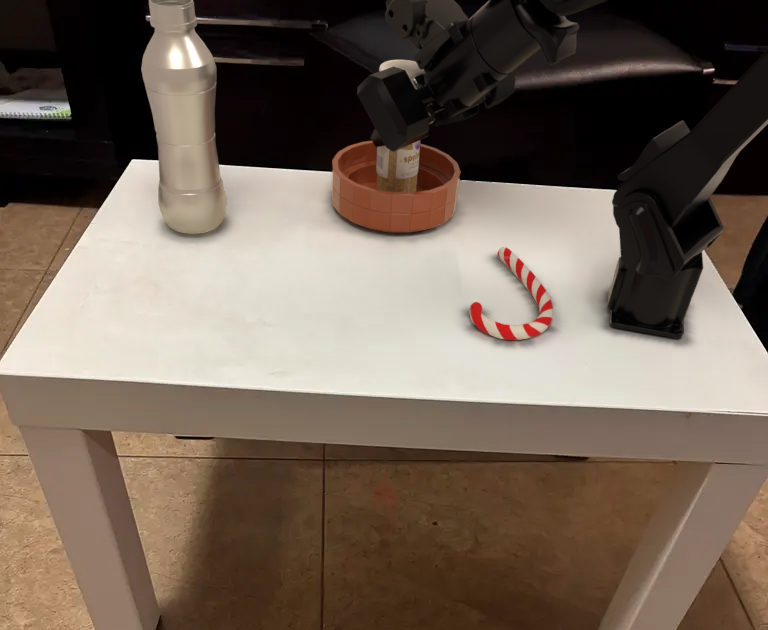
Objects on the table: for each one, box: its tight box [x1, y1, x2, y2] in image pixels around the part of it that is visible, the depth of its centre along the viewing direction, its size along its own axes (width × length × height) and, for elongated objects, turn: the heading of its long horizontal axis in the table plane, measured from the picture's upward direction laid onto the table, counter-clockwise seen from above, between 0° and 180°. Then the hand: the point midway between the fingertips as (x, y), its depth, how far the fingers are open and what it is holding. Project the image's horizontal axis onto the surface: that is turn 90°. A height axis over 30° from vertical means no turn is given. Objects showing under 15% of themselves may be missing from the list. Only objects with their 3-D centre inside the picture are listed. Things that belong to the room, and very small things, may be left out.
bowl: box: [331, 140, 462, 234], centre depth 87 cm, size 13×13×4 cm
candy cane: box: [468, 246, 554, 341], centre depth 77 cm, size 8×1×15 cm
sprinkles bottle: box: [376, 59, 425, 193], centre depth 83 cm, size 5×5×14 cm
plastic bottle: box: [140, 0, 228, 235], centre depth 76 cm, size 6×7×20 cm
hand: (388, 135), depth 84 cm, fingers closed on sprinkles bottle, 4 cm apart
